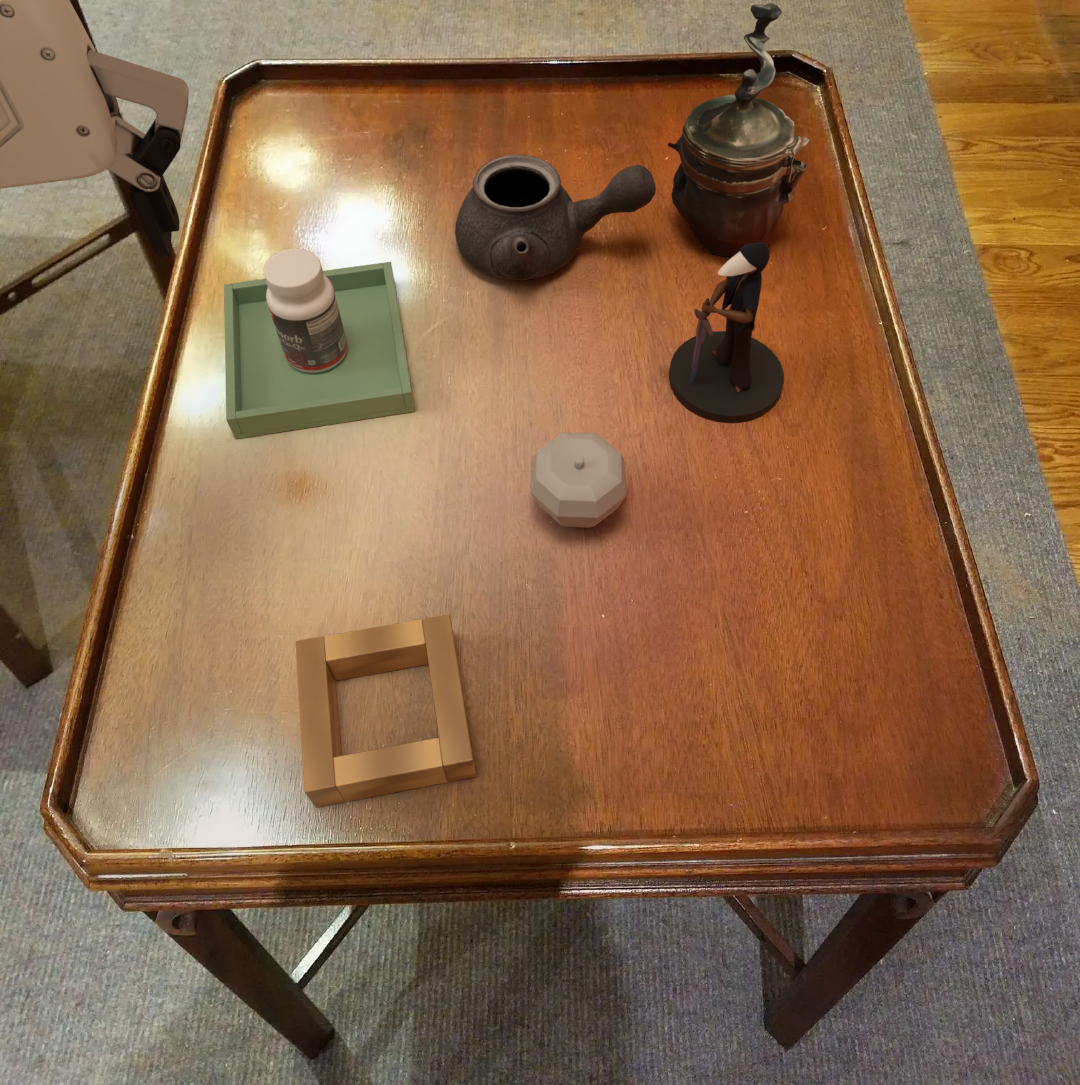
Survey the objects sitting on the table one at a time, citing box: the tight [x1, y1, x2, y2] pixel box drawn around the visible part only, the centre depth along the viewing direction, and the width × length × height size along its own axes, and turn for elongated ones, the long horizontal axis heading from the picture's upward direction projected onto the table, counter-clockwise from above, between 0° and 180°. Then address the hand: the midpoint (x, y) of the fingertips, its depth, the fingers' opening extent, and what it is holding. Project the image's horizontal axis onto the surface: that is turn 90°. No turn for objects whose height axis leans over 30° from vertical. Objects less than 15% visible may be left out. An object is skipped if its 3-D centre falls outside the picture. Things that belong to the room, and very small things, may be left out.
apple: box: [529, 431, 627, 529], centre depth 72 cm, size 8×8×7 cm
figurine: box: [668, 243, 785, 424], centre depth 75 cm, size 10×10×15 cm
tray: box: [223, 261, 416, 440], centre depth 83 cm, size 16×17×3 cm
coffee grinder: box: [667, 2, 810, 257], centre depth 86 cm, size 13×15×18 cm
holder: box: [295, 614, 477, 808], centre depth 64 cm, size 11×11×4 cm
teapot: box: [454, 154, 657, 281], centre depth 86 cm, size 19×15×10 cm
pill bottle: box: [263, 247, 347, 373], centre depth 79 cm, size 6×6×10 cm
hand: (74, 252), depth 49 cm, fingers open, 9 cm apart
